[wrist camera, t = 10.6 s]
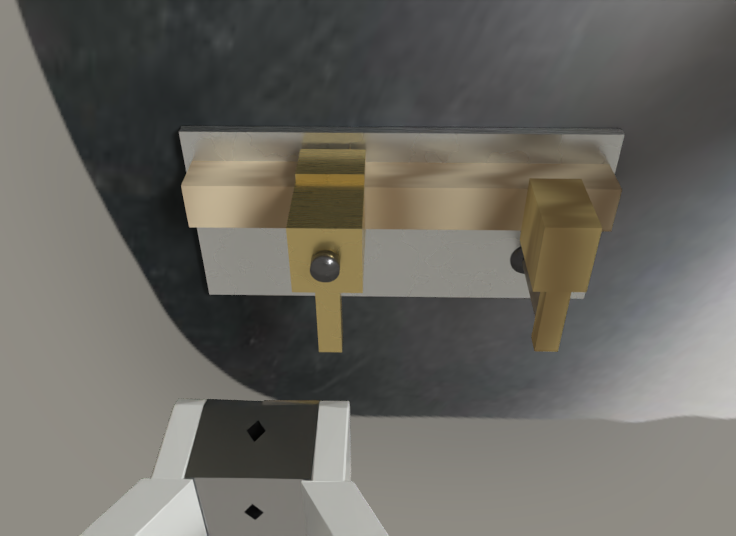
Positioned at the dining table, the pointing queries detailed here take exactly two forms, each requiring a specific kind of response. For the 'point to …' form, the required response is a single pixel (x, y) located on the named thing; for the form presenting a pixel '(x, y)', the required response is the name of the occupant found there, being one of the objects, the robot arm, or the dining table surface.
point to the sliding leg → (328, 234)
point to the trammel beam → (444, 212)
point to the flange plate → (389, 246)
